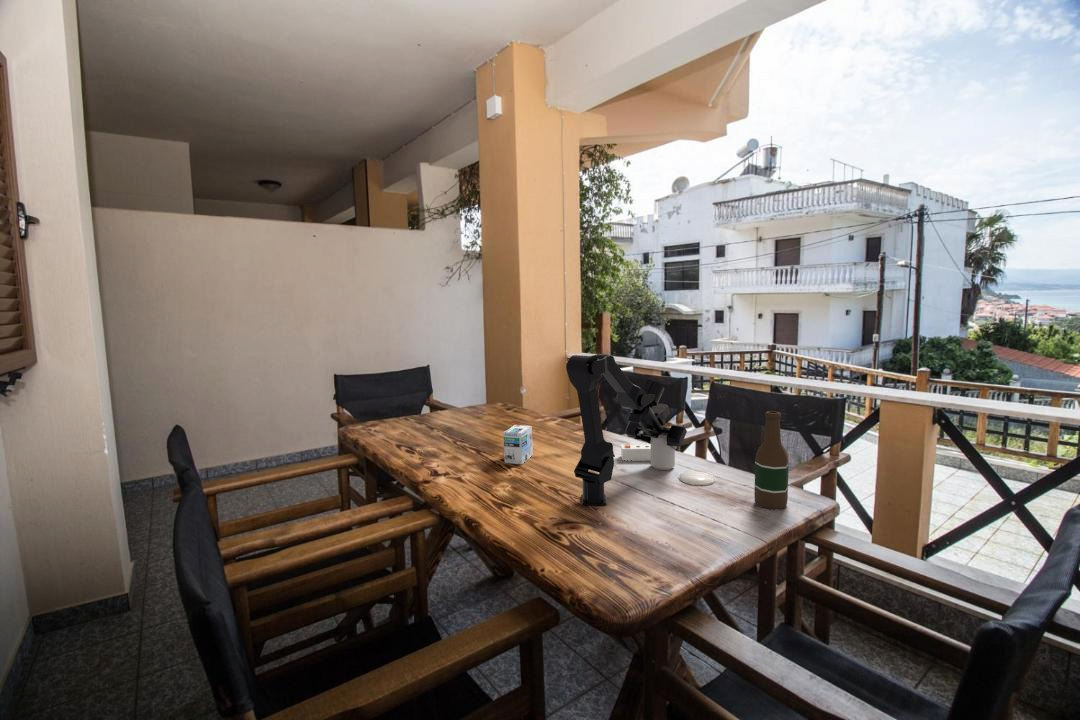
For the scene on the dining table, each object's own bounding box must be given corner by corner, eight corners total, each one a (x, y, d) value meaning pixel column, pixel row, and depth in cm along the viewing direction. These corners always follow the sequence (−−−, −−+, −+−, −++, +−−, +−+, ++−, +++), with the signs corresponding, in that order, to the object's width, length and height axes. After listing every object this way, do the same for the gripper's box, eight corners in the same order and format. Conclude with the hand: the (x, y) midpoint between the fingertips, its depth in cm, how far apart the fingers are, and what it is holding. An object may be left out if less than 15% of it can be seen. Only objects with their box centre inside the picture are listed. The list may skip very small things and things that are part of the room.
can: (672, 463, 158) (672, 427, 156) (676, 471, 150) (676, 433, 149) (649, 463, 158) (649, 427, 157) (652, 471, 151) (652, 433, 150)
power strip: (665, 460, 161) (665, 446, 160) (622, 460, 162) (622, 447, 161) (662, 455, 166) (662, 442, 165) (621, 456, 167) (620, 443, 166)
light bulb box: (522, 465, 160) (521, 433, 159) (503, 463, 163) (502, 432, 161) (533, 455, 171) (532, 425, 169) (515, 454, 173) (514, 424, 172)
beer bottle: (784, 499, 127) (786, 409, 124) (790, 511, 119) (793, 416, 117) (752, 497, 129) (753, 408, 126) (756, 509, 121) (758, 415, 119)
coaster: (719, 485, 138) (719, 483, 138) (683, 485, 138) (683, 483, 138) (709, 473, 148) (709, 471, 147) (676, 473, 148) (676, 471, 148)
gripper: (684, 400, 143) (700, 429, 152) (630, 393, 155) (648, 420, 165) (670, 431, 138) (688, 459, 147) (616, 422, 151) (636, 448, 160)
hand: (664, 445), depth 155 cm, fingers closed on can, 7 cm apart
